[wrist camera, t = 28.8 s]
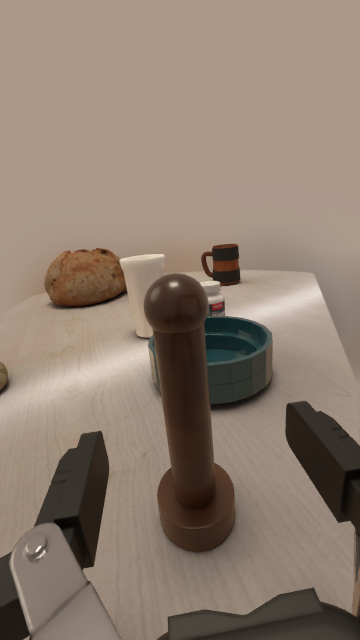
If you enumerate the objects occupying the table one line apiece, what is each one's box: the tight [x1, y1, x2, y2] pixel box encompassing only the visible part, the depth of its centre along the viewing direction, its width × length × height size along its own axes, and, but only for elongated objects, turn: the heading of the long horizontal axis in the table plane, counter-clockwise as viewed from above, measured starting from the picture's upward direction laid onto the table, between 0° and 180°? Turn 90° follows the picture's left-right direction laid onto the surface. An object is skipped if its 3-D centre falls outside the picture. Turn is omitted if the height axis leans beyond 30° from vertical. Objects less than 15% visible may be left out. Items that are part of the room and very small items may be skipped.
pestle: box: [144, 273, 235, 551], centre depth 17 cm, size 5×5×17 cm
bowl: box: [148, 316, 273, 405], centre depth 36 cm, size 15×15×6 cm
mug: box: [201, 244, 240, 285], centre depth 87 cm, size 9×12×12 cm
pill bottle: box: [200, 281, 225, 316], centre depth 50 cm, size 5×5×9 cm
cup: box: [119, 254, 166, 337], centre depth 50 cm, size 8×8×14 cm
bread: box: [45, 248, 127, 306], centre depth 85 cm, size 26×23×15 cm
